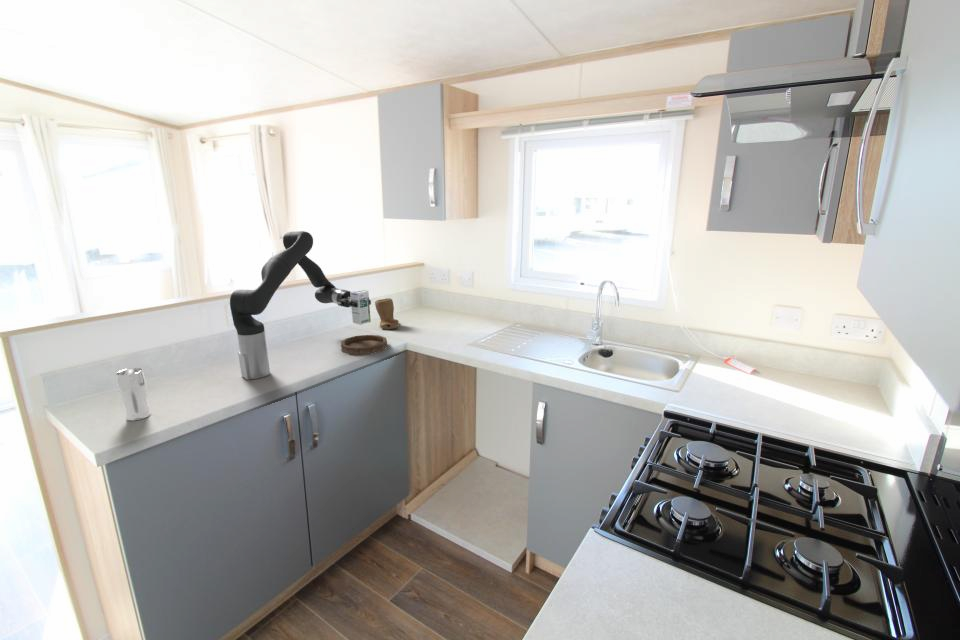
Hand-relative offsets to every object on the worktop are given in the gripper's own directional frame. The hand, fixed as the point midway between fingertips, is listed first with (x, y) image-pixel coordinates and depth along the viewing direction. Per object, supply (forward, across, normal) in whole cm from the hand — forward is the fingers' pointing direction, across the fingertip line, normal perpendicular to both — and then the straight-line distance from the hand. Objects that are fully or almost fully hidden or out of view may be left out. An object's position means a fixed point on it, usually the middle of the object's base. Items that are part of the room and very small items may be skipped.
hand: (363, 303), depth 200 cm
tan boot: (-24, +28, +21) cm, 43 cm away
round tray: (-2, 0, +21) cm, 21 cm away
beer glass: (+6, -86, +21) cm, 88 cm away
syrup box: (-2, 0, +9) cm, 10 cm away
